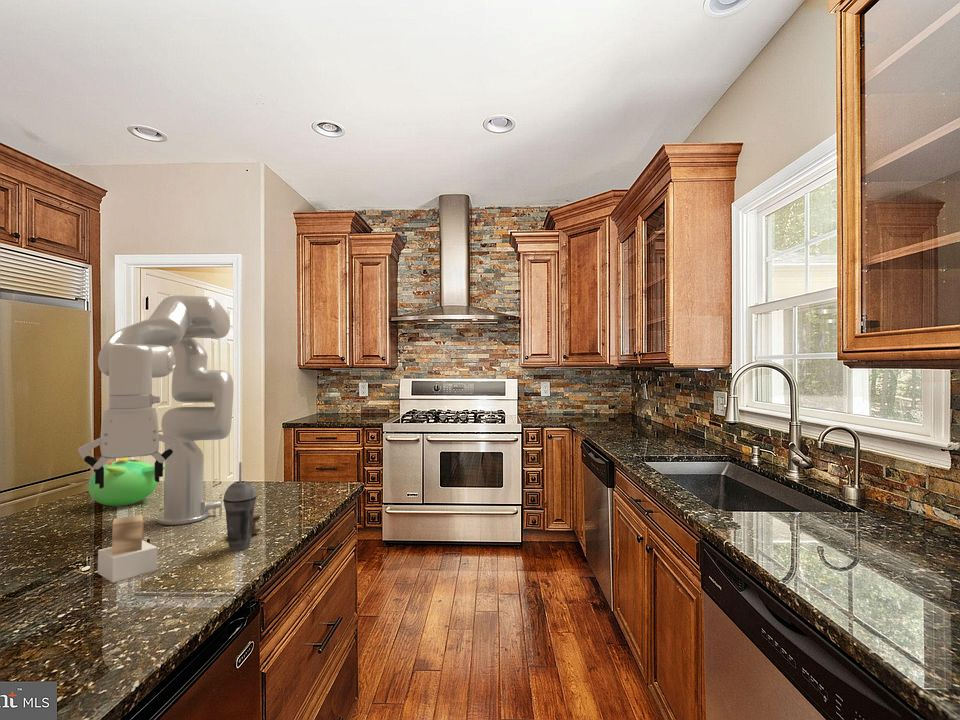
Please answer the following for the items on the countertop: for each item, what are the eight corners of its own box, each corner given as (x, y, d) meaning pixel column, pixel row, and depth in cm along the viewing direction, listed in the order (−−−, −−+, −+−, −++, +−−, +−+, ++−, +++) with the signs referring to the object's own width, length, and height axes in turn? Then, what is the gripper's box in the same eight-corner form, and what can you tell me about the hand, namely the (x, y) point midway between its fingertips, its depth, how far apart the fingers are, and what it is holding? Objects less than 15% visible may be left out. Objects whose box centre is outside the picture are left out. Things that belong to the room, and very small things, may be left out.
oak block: (141, 542, 109) (142, 515, 109) (141, 549, 105) (142, 520, 105) (113, 547, 107) (113, 518, 107) (112, 554, 102) (112, 524, 103)
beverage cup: (222, 554, 115) (223, 466, 116) (222, 544, 122) (223, 461, 122) (257, 549, 119) (258, 464, 119) (255, 540, 125) (256, 459, 126)
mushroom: (272, 520, 131) (257, 501, 130) (249, 541, 124) (232, 521, 124) (258, 529, 135) (243, 511, 135) (234, 550, 128) (219, 531, 128)
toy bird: (145, 495, 170) (146, 451, 170) (167, 503, 160) (168, 456, 160) (79, 506, 155) (80, 458, 156) (100, 516, 146) (101, 464, 146)
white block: (141, 562, 111) (141, 539, 111) (157, 571, 107) (157, 547, 107) (97, 574, 105) (98, 550, 105) (112, 583, 100) (113, 558, 100)
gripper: (176, 400, 115) (175, 475, 115) (79, 403, 104) (78, 485, 104) (180, 402, 109) (179, 481, 109) (77, 406, 98) (76, 494, 98)
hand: (129, 483), depth 107 cm, fingers open, 9 cm apart
